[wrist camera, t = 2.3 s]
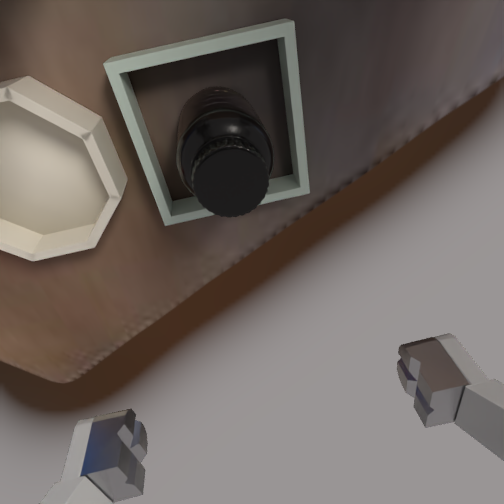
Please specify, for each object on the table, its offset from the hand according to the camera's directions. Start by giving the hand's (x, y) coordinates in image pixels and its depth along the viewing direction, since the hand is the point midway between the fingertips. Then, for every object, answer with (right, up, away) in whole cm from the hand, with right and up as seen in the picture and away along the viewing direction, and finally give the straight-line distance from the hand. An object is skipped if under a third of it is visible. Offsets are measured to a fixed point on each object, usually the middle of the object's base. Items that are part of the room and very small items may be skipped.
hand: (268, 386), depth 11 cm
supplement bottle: (-3, +15, +21) cm, 26 cm away
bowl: (-19, +11, +21) cm, 30 cm away
